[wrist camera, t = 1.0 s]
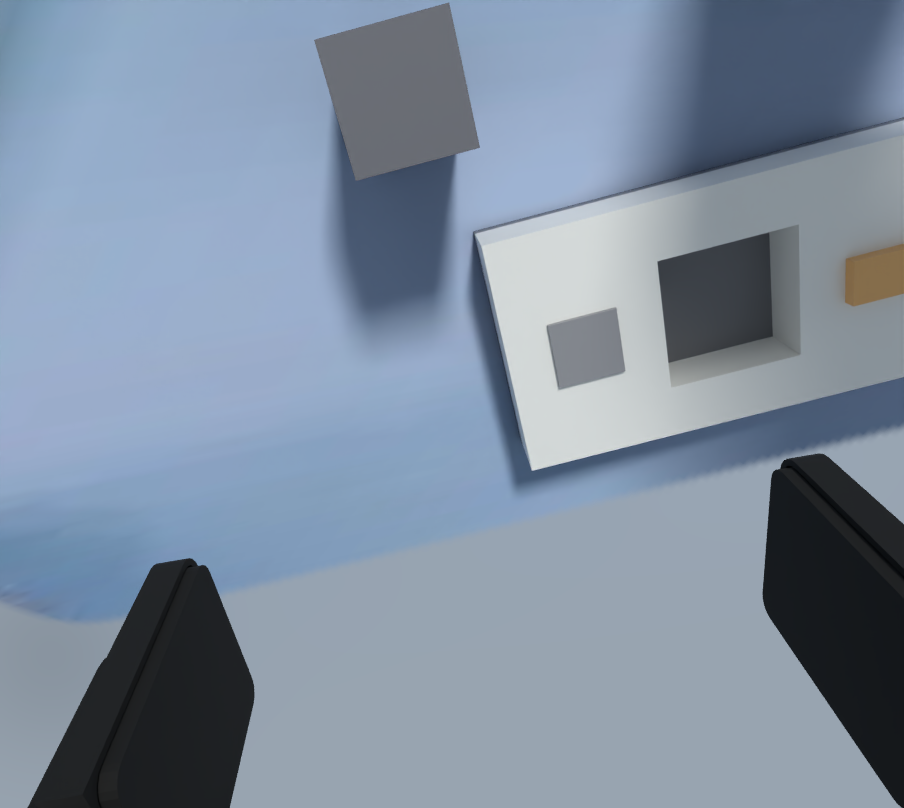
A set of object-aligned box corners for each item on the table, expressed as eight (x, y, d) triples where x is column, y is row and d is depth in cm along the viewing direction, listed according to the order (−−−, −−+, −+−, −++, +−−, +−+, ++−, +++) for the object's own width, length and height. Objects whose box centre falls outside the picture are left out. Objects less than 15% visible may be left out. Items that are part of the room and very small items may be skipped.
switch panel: (919, 113, 29) (984, 117, 26) (905, 343, 34) (959, 370, 31) (473, 231, 30) (483, 249, 27) (521, 440, 35) (534, 477, 31)
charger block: (433, 24, 26) (449, 2, 19) (457, 131, 28) (479, 147, 21) (335, 51, 27) (314, 40, 19) (365, 156, 28) (355, 181, 21)
